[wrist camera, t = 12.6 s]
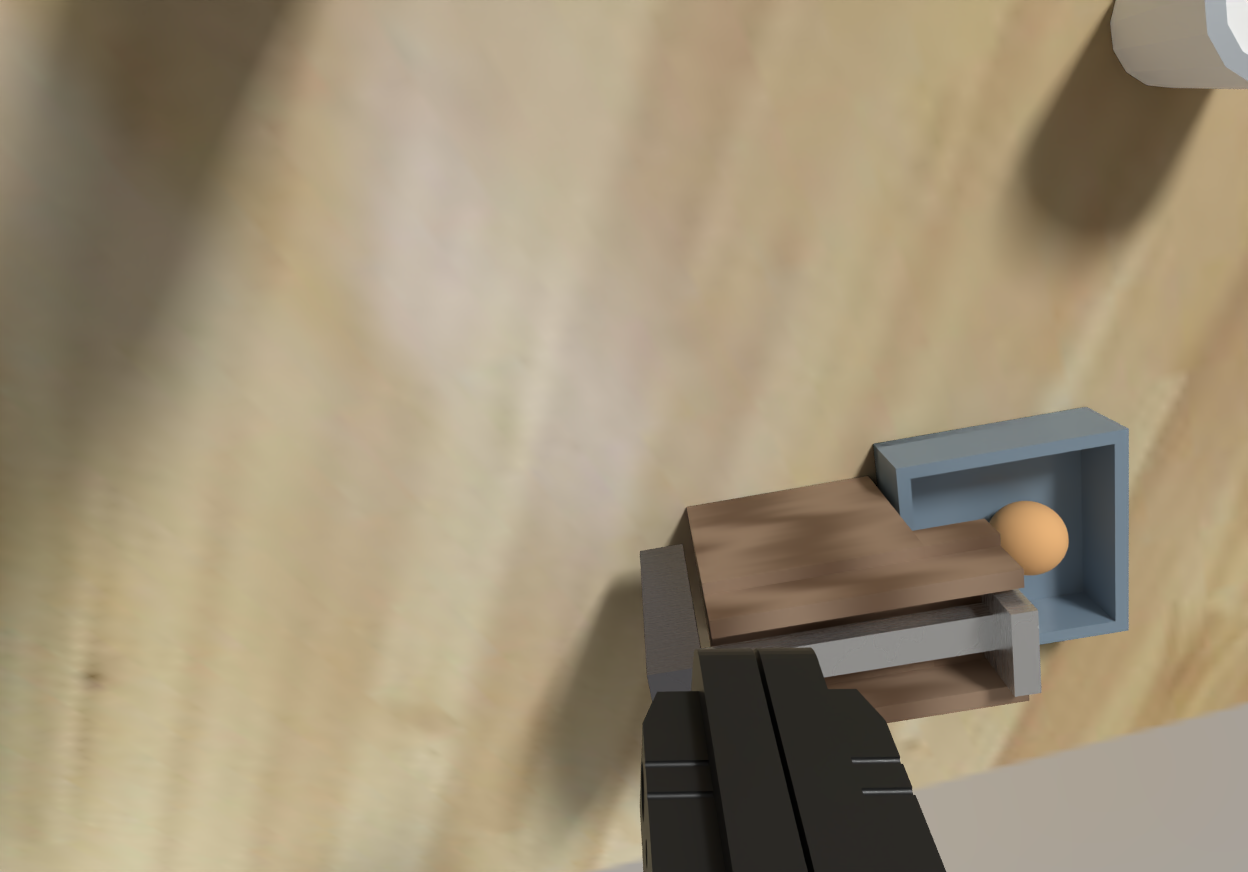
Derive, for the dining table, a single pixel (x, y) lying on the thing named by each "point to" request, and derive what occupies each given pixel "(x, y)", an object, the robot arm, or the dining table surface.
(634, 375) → the dining table surface
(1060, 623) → the blue square tray
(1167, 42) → the white cup
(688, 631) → the pusher
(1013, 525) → the ball
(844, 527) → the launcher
